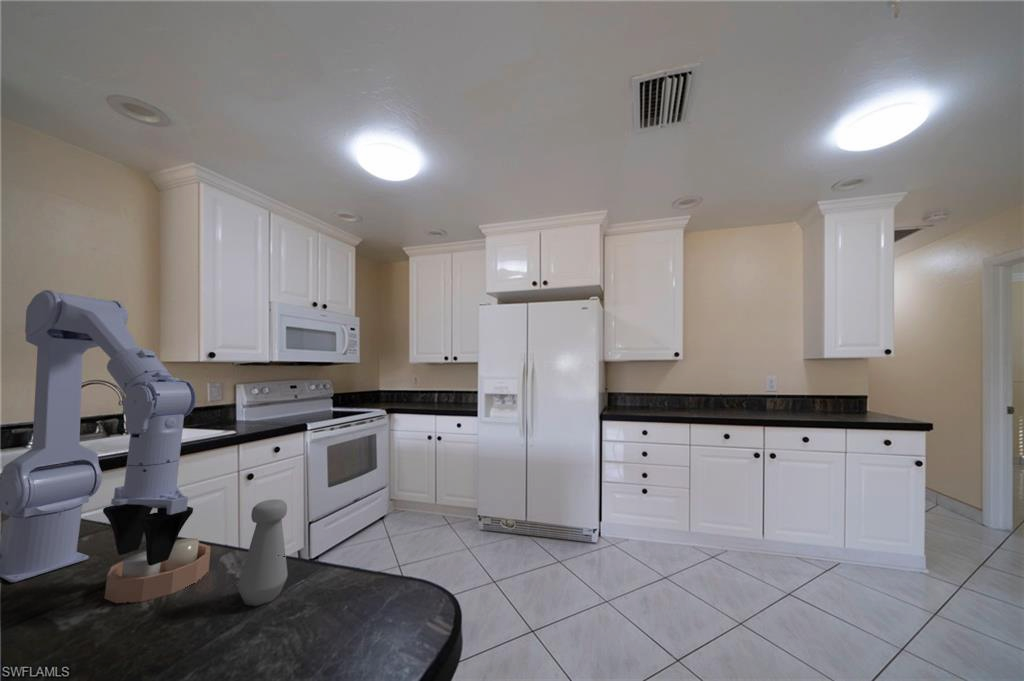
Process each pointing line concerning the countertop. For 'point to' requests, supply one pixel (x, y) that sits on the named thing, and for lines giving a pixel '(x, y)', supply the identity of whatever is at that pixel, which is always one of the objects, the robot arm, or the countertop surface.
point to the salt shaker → (265, 555)
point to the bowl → (155, 580)
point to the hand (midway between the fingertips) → (143, 557)
